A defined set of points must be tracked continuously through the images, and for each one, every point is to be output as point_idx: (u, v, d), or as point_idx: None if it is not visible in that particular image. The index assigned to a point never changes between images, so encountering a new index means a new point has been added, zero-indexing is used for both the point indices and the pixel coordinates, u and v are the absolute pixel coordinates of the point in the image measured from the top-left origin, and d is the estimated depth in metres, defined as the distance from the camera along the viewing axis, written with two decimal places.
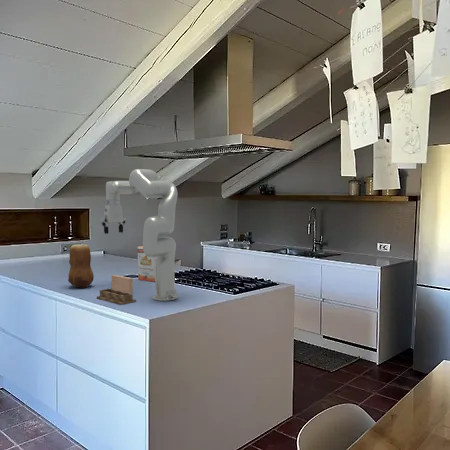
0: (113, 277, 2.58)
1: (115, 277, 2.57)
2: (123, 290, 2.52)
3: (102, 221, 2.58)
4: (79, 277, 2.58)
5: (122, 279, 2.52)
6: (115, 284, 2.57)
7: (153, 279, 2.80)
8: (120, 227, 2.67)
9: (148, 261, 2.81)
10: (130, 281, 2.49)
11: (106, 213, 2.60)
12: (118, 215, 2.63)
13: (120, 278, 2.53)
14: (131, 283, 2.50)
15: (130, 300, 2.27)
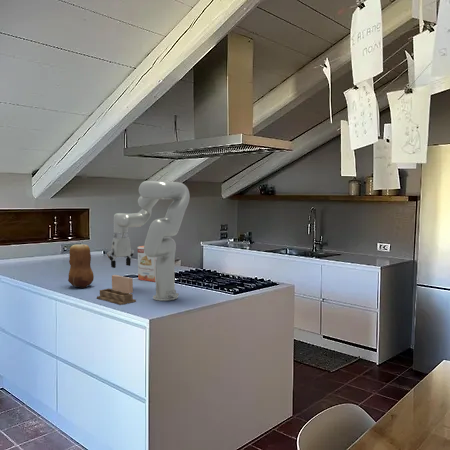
0: (113, 277, 2.58)
1: (115, 277, 2.57)
2: (123, 290, 2.52)
3: (109, 255, 2.48)
4: (79, 277, 2.58)
5: (122, 279, 2.52)
6: (115, 284, 2.57)
7: (153, 279, 2.80)
8: (128, 260, 2.57)
9: (148, 261, 2.81)
10: (130, 281, 2.49)
11: (113, 246, 2.49)
12: (126, 248, 2.53)
13: (120, 278, 2.53)
14: (131, 283, 2.50)
15: (130, 300, 2.27)
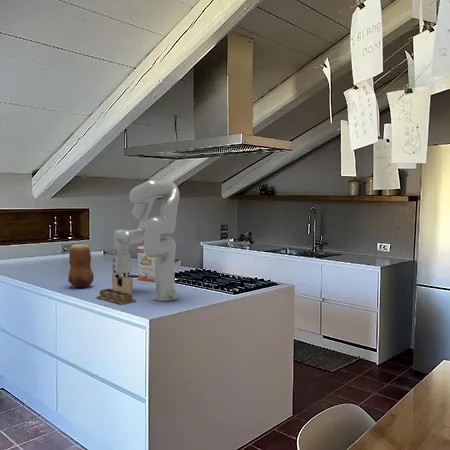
0: (113, 277, 2.58)
1: (115, 277, 2.57)
2: (123, 290, 2.52)
3: (115, 275, 2.51)
4: (79, 277, 2.58)
5: (122, 279, 2.52)
6: (115, 283, 2.57)
7: (153, 279, 2.80)
8: None
9: (148, 261, 2.81)
10: (130, 281, 2.49)
11: (114, 263, 2.50)
12: (127, 265, 2.53)
13: None
14: (131, 283, 2.50)
15: (130, 300, 2.27)
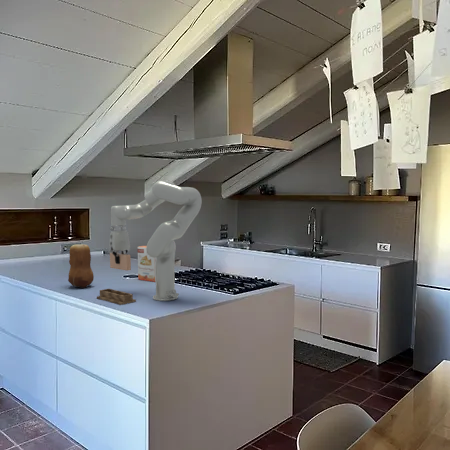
0: (111, 255, 2.50)
1: (113, 255, 2.48)
2: (121, 267, 2.43)
3: (112, 252, 2.42)
4: (79, 277, 2.58)
5: (120, 256, 2.44)
6: (113, 262, 2.48)
7: (153, 279, 2.80)
8: None
9: (148, 261, 2.81)
10: (128, 258, 2.40)
11: (111, 240, 2.41)
12: (124, 242, 2.45)
13: None
14: (129, 260, 2.41)
15: (130, 300, 2.27)
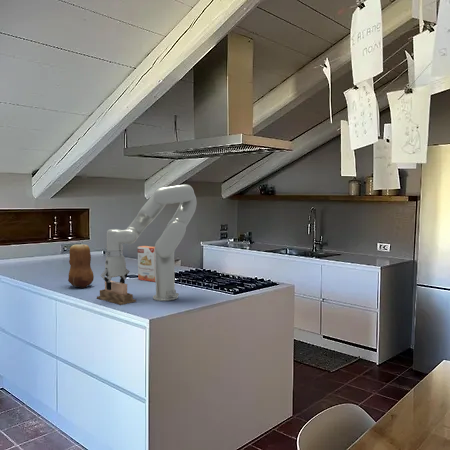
0: None
1: None
2: None
3: (104, 277, 2.27)
4: (79, 277, 2.58)
5: (116, 285, 2.30)
6: (108, 290, 2.35)
7: (153, 279, 2.80)
8: (121, 281, 2.35)
9: (148, 261, 2.81)
10: (124, 287, 2.27)
11: (107, 266, 2.28)
12: (121, 267, 2.31)
13: (114, 284, 2.32)
14: (125, 289, 2.28)
15: (130, 300, 2.27)
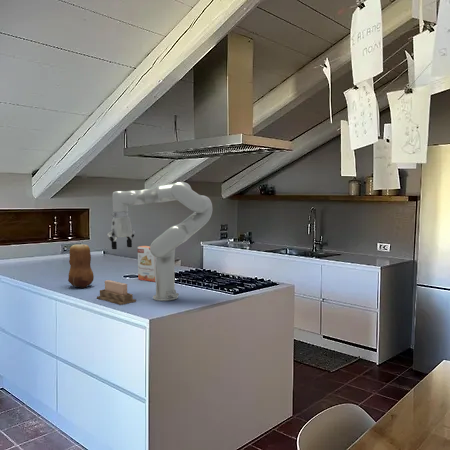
0: (106, 283, 2.36)
1: (108, 283, 2.35)
2: None
3: (110, 235, 2.32)
4: (79, 277, 2.58)
5: (116, 285, 2.30)
6: (108, 290, 2.35)
7: (153, 279, 2.80)
8: (129, 241, 2.41)
9: (148, 261, 2.81)
10: (124, 287, 2.27)
11: (114, 226, 2.33)
12: (127, 228, 2.37)
13: (114, 284, 2.32)
14: (125, 289, 2.28)
15: (130, 300, 2.27)
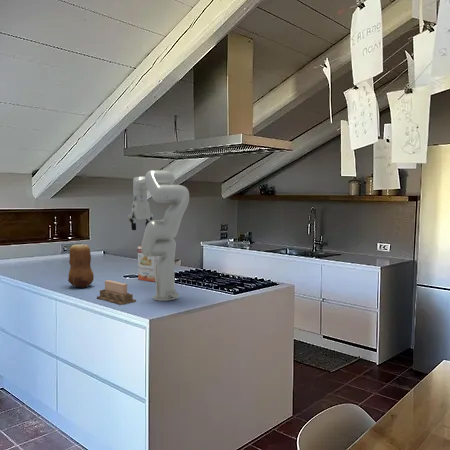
0: (106, 283, 2.36)
1: (108, 283, 2.35)
2: None
3: (130, 217, 2.54)
4: (79, 277, 2.58)
5: (116, 285, 2.30)
6: (108, 290, 2.35)
7: (153, 279, 2.80)
8: (147, 224, 2.63)
9: (148, 261, 2.81)
10: (124, 287, 2.27)
11: (134, 209, 2.55)
12: (145, 211, 2.59)
13: (114, 284, 2.32)
14: (125, 289, 2.28)
15: (130, 300, 2.27)
